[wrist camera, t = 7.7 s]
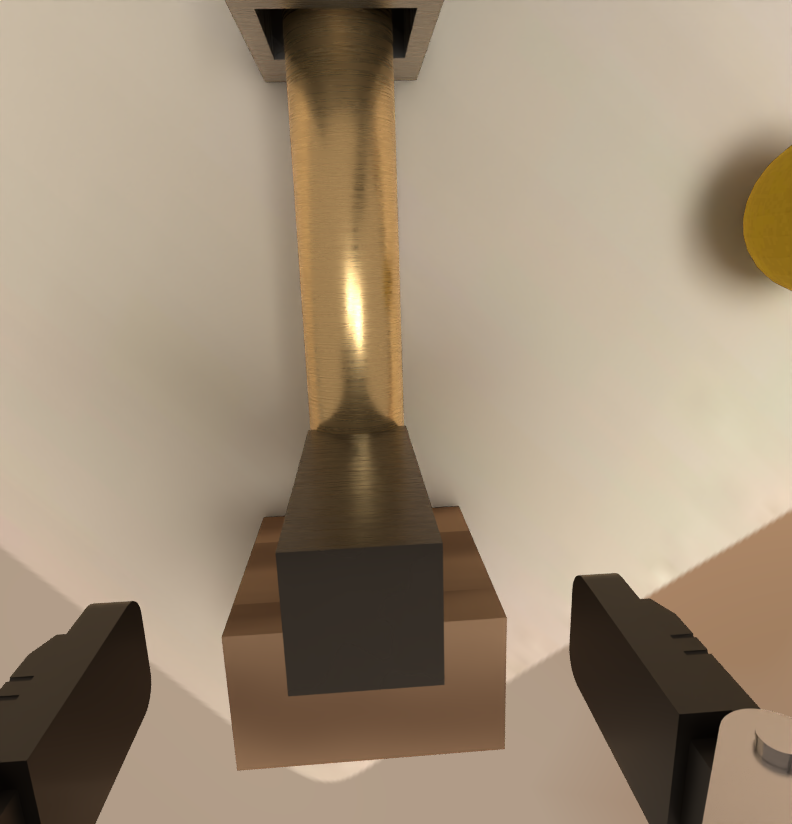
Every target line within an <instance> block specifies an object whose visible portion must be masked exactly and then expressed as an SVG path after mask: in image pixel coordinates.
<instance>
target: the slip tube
mask: <svg viewBox="0 0 792 824" xmlns="http://www.w3.org/2000/svg"><path fill="white" fill-rule="evenodd" d="M282 22H283V36H284V51H285V66H286V80H287V95H288V109H289V124H290V138H291V153H292V167H293V182H294V196H295V211H296V226H297V240H298V255H299V269H300V284H301V298H302V313H303V327H304V342H305V356H306V371H307V386H308V400H309V415H310V429H311V430H308V434H307V437H306V441H305V445H304V448H303V452H302V456H301V460H300V463H299V467H298V471H297V474H296V478H295V482H294V486H293V489H292V493H291V497H290V500H289V504H288V508H287V512H286V515H285V519H284V523H283V526H282V530H281V534H280V538H279V541H278V545H277V549H276V552H275V554H276V565H277V576H278V588H279V599H280V610H281V622H282V633H283V644H284V656H285V667H286V678H287V690H288V696H302V695H315V694H329V693H342V692H356V691H369V690H383V689H396V688H410V687H423V686H437V685H445V674H444V597H443V542H442V539H441V536H440V532H439V529H438V526H437V523H436V520H435V517H434V513H433V510H432V507H431V504H430V501H429V498H428V494H427V491H426V488H425V485H424V482H423V479H422V476H421V472H420V469H419V466H418V463H417V460H416V457H415V453H414V450H413V447H412V444H411V441H410V438H409V435H408V431H407V428H406V426H404V415H403V380H402V345H401V311H400V276H399V242H398V207H397V172H396V138H395V103H394V68H393V34H392V8H302V9H282Z"/></svg>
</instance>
